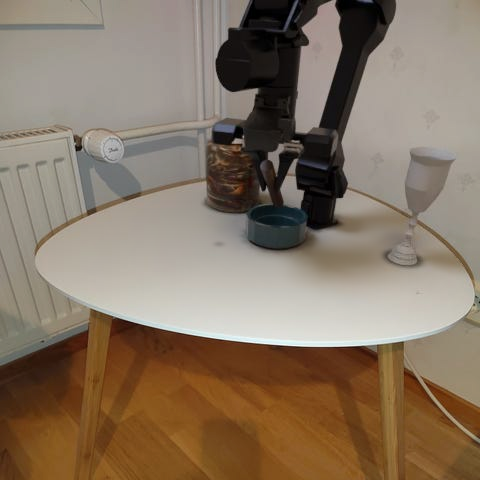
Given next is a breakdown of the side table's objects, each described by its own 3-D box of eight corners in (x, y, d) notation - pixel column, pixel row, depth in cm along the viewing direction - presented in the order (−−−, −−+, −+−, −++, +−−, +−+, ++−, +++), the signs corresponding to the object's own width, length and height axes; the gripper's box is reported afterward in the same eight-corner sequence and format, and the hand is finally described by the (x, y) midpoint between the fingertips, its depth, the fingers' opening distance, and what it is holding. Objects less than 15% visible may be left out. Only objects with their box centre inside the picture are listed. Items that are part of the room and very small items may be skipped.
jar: (263, 196, 97) (267, 127, 88) (253, 215, 88) (256, 140, 79) (214, 191, 99) (214, 122, 90) (199, 209, 90) (197, 135, 81)
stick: (279, 196, 76) (267, 157, 64) (286, 203, 76) (275, 165, 63) (270, 202, 76) (257, 165, 64) (277, 210, 76) (265, 174, 63)
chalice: (376, 249, 77) (402, 146, 66) (412, 248, 78) (442, 147, 67) (391, 268, 71) (421, 160, 61) (429, 268, 72) (466, 160, 61)
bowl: (281, 221, 86) (283, 199, 84) (316, 242, 79) (320, 219, 76) (235, 232, 81) (235, 210, 79) (267, 256, 74) (269, 232, 71)
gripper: (194, 87, 56) (198, 200, 66) (332, 99, 51) (315, 219, 61) (225, 77, 65) (224, 178, 74) (346, 87, 60) (329, 194, 69)
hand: (270, 191), depth 69 cm, fingers closed on stick, 2 cm apart
